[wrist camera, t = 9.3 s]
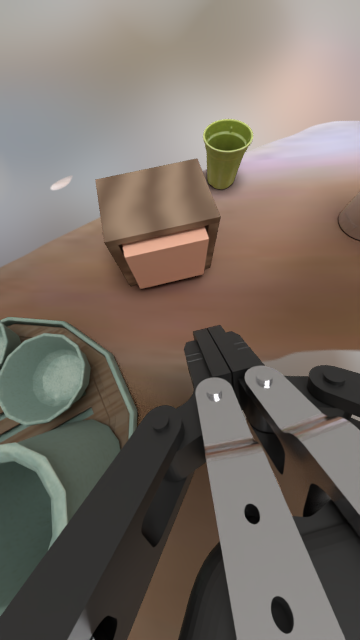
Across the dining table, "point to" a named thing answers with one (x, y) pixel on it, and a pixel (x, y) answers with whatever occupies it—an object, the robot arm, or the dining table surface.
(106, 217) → the brown box with drawer
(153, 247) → the salmon pink block
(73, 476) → the tea set
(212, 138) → the plant pot
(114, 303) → the dining table surface
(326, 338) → the dining table surface
